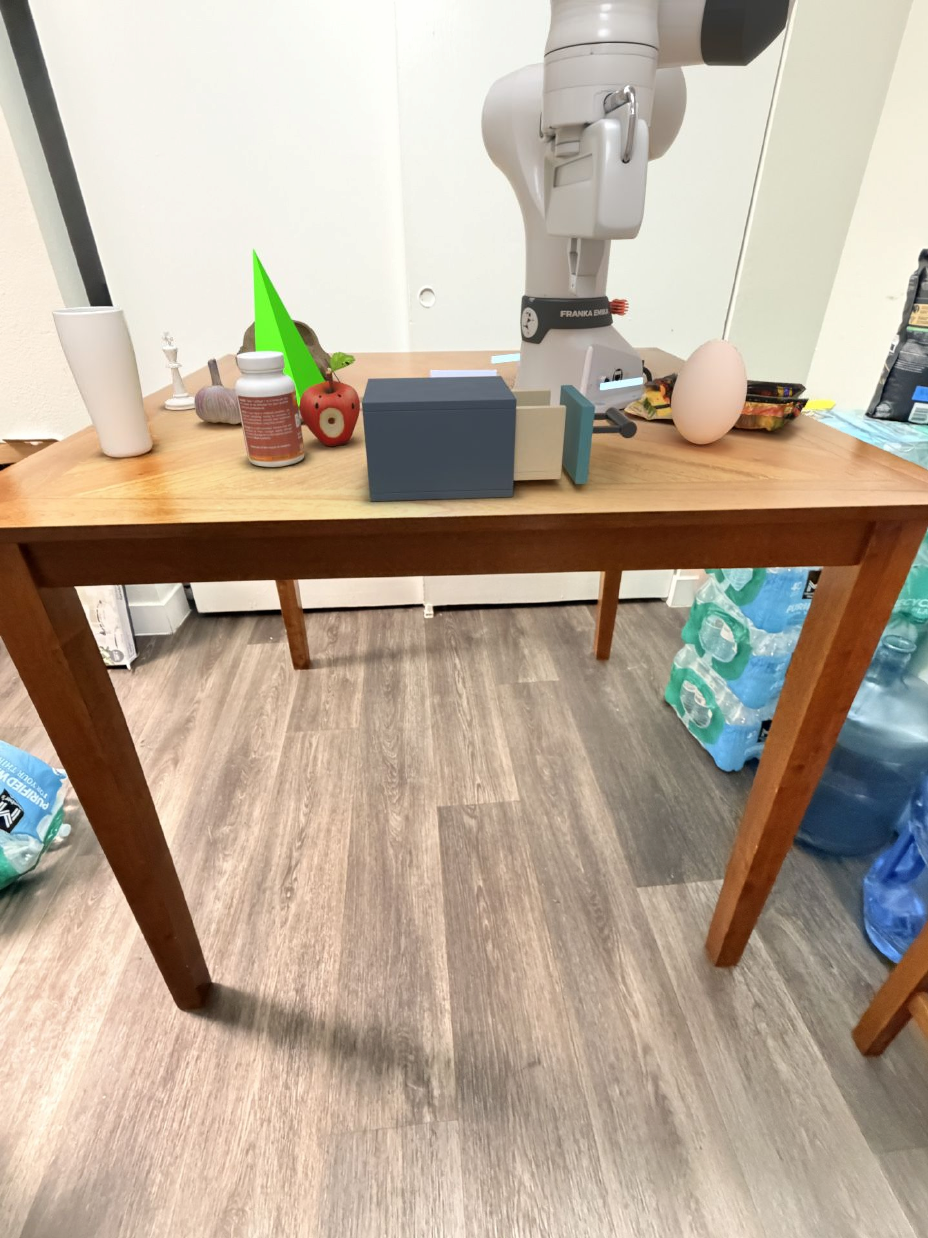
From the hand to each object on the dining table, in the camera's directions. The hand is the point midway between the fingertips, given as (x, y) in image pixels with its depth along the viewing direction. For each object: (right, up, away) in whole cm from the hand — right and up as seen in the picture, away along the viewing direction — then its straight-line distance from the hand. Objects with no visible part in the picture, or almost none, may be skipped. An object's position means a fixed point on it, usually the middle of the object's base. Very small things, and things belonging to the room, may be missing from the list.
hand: (581, 296), depth 58 cm
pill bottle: (-32, -12, +12) cm, 36 cm away
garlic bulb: (-43, -4, +26) cm, 50 cm away
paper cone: (-40, +21, +28) cm, 53 cm away
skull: (-38, +6, +44) cm, 58 cm away
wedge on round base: (-13, -4, +26) cm, 29 cm away
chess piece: (-52, +1, +35) cm, 63 cm away
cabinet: (-13, -16, +6) cm, 22 cm away
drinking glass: (-50, -11, +15) cm, 53 cm away
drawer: (-3, -14, +6) cm, 16 cm away
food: (+23, +1, +26) cm, 35 cm away
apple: (-26, -9, +18) cm, 33 cm away
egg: (+17, -9, +17) cm, 26 cm away
